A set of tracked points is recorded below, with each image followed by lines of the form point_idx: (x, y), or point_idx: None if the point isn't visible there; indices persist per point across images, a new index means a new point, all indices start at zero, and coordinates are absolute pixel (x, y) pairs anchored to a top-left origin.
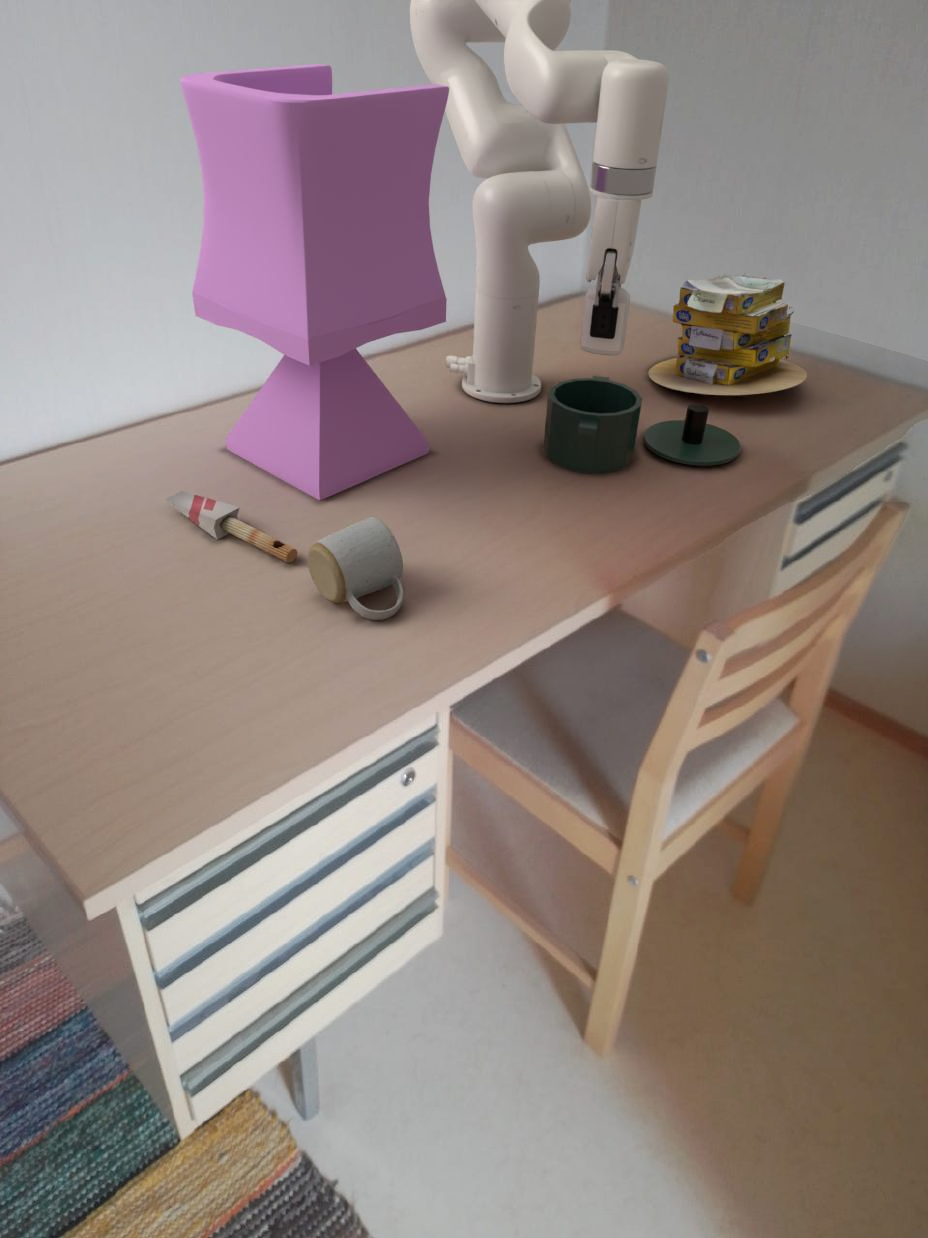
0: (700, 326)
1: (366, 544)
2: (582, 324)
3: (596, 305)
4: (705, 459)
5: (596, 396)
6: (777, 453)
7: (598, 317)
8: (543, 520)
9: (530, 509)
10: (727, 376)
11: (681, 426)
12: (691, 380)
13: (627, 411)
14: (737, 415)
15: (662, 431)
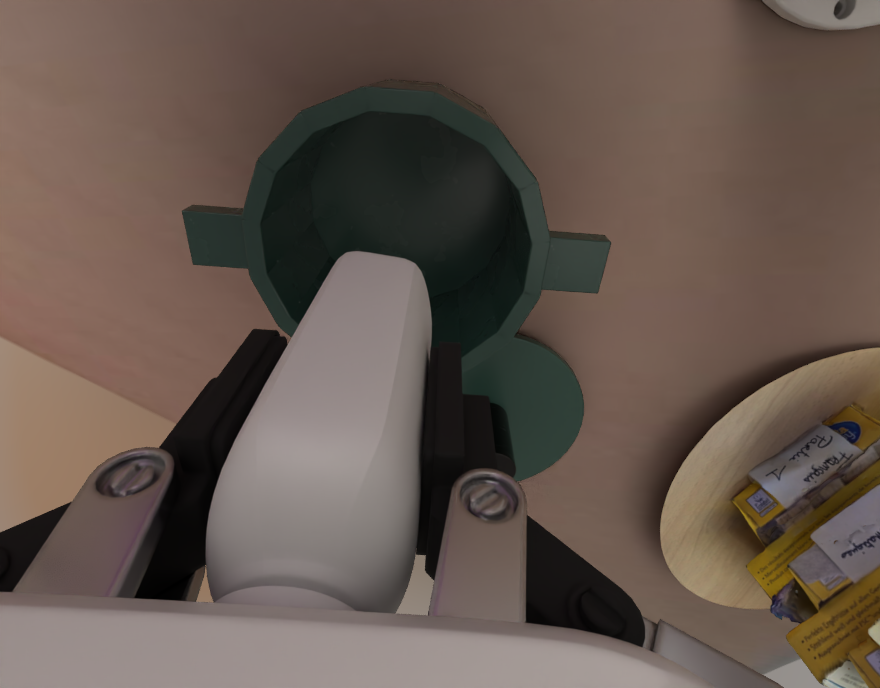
0: None
1: None
2: (322, 298)
3: (110, 471)
4: None
5: (520, 247)
6: None
7: (174, 429)
8: (27, 114)
9: (58, 73)
10: (745, 510)
11: (550, 404)
12: (791, 436)
13: None
14: (644, 485)
15: (518, 370)
